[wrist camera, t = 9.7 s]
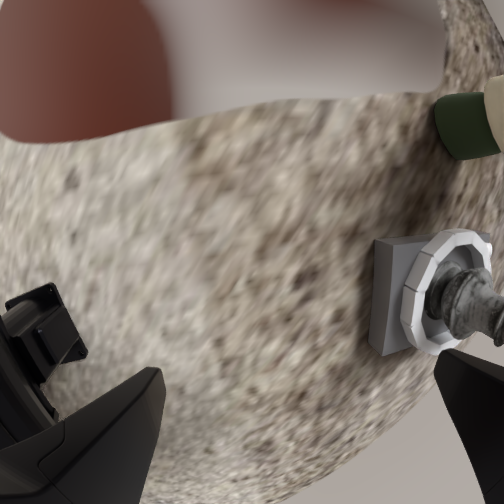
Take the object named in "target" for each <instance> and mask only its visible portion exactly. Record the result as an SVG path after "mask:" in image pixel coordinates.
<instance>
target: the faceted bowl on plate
mask: <svg viewBox="0 0 504 504" xmlns="http://www.w3.org/2000/svg"><path fill="white" fill-rule="evenodd" d="M489 238H490V233H486V232H481V231H477V230H467V229H462V228H459V229H449V230H442V231H440V232H439V233H433V234H423V235H413V236H403V237H393V238H383V239H375V252H374V278H373V294H372V307H371V318H370V327H369V336H368V343H369V344H370V345H371V346H372V347H373V348H374V349H375V350H376V351H377V352H378V353H379V354H380V355H381V356H386V355H389V354H392V353H395V352H398V351H401V350H404V349H407V348H410V347H412V346H415V347H416V348H417V349H418V350H420V351H423V352H426V353H429V354H432V355H438V354H440V352H441V351H442V350H444V349H448V348H454V347H455V346H457V345H458V344H459V343H460V341H461V340H457V339H455V338H453V336H452V335H451V333H450V330H449V329H448V328H447V326H446V325H445V323H444V321H443V319H441V320H433V319H431V318H429V317H428V315H427V314H426V312H425V308H424V298H425V292H426V290H427V288H428V286H429V284H430V282H431V280H432V277H433V275H434V273H435V271H436V269H437V268H438V267H439V266H440V265H441V264H443V263H444V262H446V261H455V262H457V263H458V264H460V266H461V267H462V269H463V270H467V269H476V268H479V267H483V268H486V269H487V270H488V271H489V272H490V274H491V264H490V257H491V254H492V246H491V244H490V243H489Z"/></svg>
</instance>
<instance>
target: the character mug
mask: <svg viewBox="0 0 504 504" xmlns="http://www.w3.org/2000/svg"><path fill="white" fill-rule="evenodd" d="M434 113H435V123H436V126H437V129H438V132H439V134H440V137H441V140H442V141H443V143H444V145H445V146H446V148H447V150H448V151H449V153H450V154H451V155H452V156H453V157H454V158H455V159H456V160H469V159H475V158H481V157H485V156H489V155H494V154H498V153H500V152H501V151H502V153H503V154H504V75H502V76H497V77H493V78H491V79H489V80H488V81H487V83H486V85H485V86H484V93H483V92H470V93H457V94H450V95H445V96H443V97H442V98H440V99H438V100H437V103H436V106H435V109H434Z"/></svg>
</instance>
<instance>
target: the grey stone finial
mask: <svg viewBox="0 0 504 504" xmlns="http://www.w3.org/2000/svg"><path fill="white" fill-rule="evenodd" d="M424 308H425V312H426V314H427V315H428V317H429V318H431V319H433V320H441V319H443V321H444V323H445V325H446V326H447V328H448V329H449V330H450V333H451V335H452V336H453V338H455V339H457V340H463V339H465V338H467V337H469V336H471V335H472V334H473V333H474V332H475V331H479V332H482V333H484V334H485V335H487V336H489V337H490V338H492V339H494V345H495V346H497V347H499V346H502V345H503V344H504V297H503V296H501V295H498V294H497V293H496V292H494V291H493V280H492V276H491V274H490V272H489V271H488V270H487V269H486V268H483V267H479V268H476V269H467V270H463V269H462V267H461V266H460V264H458V263H457V262H455V261H446V262H444V263H443V264H441V265H440V266H439V267H438V268H437V269H436V271H435V273H434V275H433V277H432V280H431V282H430V284H429V286H428V288H427V290H426V292H425V298H424Z"/></svg>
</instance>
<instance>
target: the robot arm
mask: <svg viewBox="0 0 504 504" xmlns="http://www.w3.org/2000/svg"><path fill="white" fill-rule="evenodd" d="M49 287H50V288H51V289H52V292H51V291H50V289H49ZM10 306H11V307H10ZM5 307H6V310H7V312H6V313H5V314H3V315H2V316H1V315H0V504H139V502H140V498H141V495H142V491H143V488H144V484H145V481H146V477H147V474H148V470H149V467H150V464H151V460H152V457H153V453H154V450H155V447H156V444H157V440H158V436H159V431H160V426H161V420H162V414H163V408H164V403H165V397H166V387H165V383H164V379H163V374H162V371H161V369H160V368H157V367H146V368H144V369H143V370H141V371H140V372H138V373H137V374H135V375H134V376H132V377H130V378H129V379H127V380H126V381H124V382H123V383H121V384H120V385H118V386H117V387H115V388H113V389H112V390H110V391H109V392H107V393H106V394H104V395H102V396H101V397H99V398H98V399H96V400H94V401H93V402H91V403H90V404H88V405H86V406H85V407H83V408H82V409H80V410H78V411H77V412H75V413H73V414H72V415H70V416H68V417H67V418H65V419H64V420H62V421H60V422H58V419H59V413H58V412H57V411H56V409H55V408H53V407H52V406H51V404H50V403H49V401H48V400H47V398H46V397H45V396H44V394H43V393H42V391H41V390H42V388H43V387H44V385H45V384H46V383H47V381H48V380H49V378H50V377H51V375H52V374H53V373H54V371H55V370H56V369H57V367H58V366H59V364H63V363H67V362H72V361H76V360H80V359H84V358H86V356H87V355H88V351H87V349H86V347H85V345H84V343H83V341H82V339H81V338H80V336H79V333H78V331H77V329H76V327H75V326H74V324H73V322H72V320H71V318H70V315H69V313H68V311H67V309H66V308H65V306H64V304H63V301H62V299H61V297H60V295H59V292H58V290H57V288H56V286H55V284H54V283H51V282H50V283H47V284H45V285H42V286H40V287H38V288H35V289H33V290H31V291H28V292H26V293H24V294H22V295H19V296H17V297H15V298H13V299H10V300H8V301H7V302H6V303H5ZM80 351H82V352H83V353H84V354H83V353H81V352H80ZM434 377H435V380H436V382H437V385H438V387H439V390H440V392H441V395H442V398H443V400H444V403H445V405H446V408H447V410H448V413H449V415H450V417H451V419H452V421H453V423H454V425H455V427H456V429H457V432H458V434H459V436H460V438H461V441H462V443H463V445H464V447H465V450H466V452H467V455H468V457H469V459H470V462H471V464H472V467H473V469H474V472H475V475H476V477H477V480H478V483H479V485H480V488H481V491H482V494H483V497H484V500H485V504H504V367H502V366H500V365H497V364H494V363H491V362H488V361H486V360H483V359H480V358H477V357H474V356H472V355H469V354H466V353H464V352H461V351H458V350H455V349H453V348H448V349H444V350H442V351H441V352H440V354H439V357H438V359H437V362H436V365H435V368H434Z"/></svg>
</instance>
